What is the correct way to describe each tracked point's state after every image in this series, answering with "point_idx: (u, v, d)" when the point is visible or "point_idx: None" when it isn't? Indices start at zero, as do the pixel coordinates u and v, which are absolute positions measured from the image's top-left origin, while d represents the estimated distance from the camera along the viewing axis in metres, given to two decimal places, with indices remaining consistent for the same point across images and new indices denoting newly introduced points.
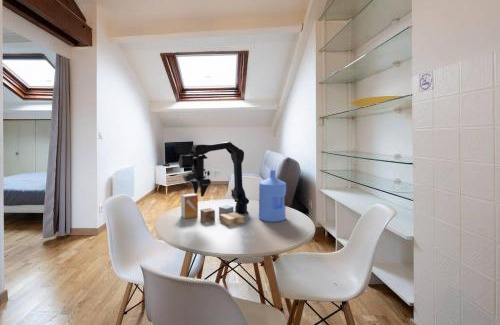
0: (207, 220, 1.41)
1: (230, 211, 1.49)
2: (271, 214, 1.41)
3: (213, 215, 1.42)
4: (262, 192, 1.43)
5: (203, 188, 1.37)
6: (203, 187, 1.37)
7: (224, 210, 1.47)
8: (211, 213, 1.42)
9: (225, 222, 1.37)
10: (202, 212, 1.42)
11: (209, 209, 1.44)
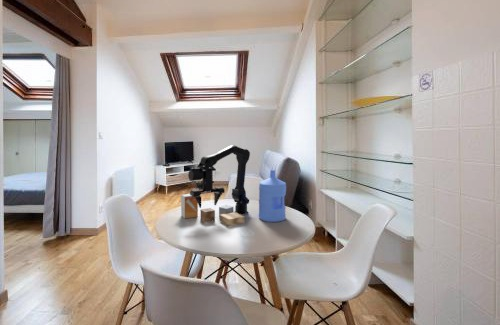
0: (207, 220, 1.41)
1: (230, 211, 1.49)
2: (271, 214, 1.41)
3: (213, 215, 1.42)
4: (262, 192, 1.43)
5: (198, 199, 1.39)
6: (198, 198, 1.39)
7: (224, 210, 1.47)
8: (211, 213, 1.42)
9: (225, 222, 1.37)
10: (202, 212, 1.42)
11: (209, 209, 1.44)
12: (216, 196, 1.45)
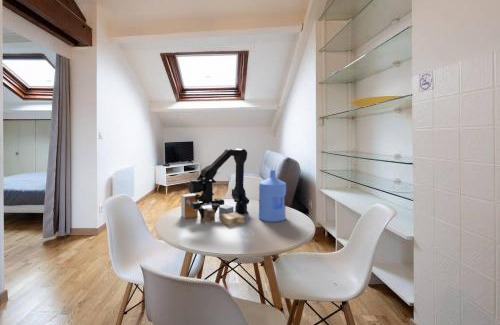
0: (207, 220, 1.41)
1: (230, 211, 1.49)
2: (271, 214, 1.41)
3: (213, 215, 1.42)
4: (262, 192, 1.43)
5: (200, 211, 1.41)
6: (200, 210, 1.41)
7: (224, 210, 1.47)
8: (211, 213, 1.42)
9: (225, 222, 1.37)
10: None
11: (209, 209, 1.44)
12: (214, 208, 1.45)
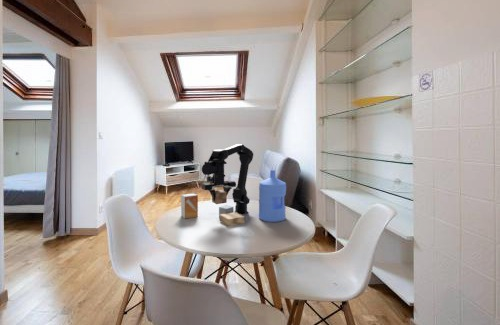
0: (219, 202, 1.39)
1: (230, 211, 1.49)
2: (271, 214, 1.41)
3: (225, 197, 1.40)
4: (262, 192, 1.43)
5: (212, 193, 1.39)
6: (212, 192, 1.39)
7: (224, 210, 1.47)
8: (223, 195, 1.39)
9: (225, 222, 1.37)
10: None
11: (221, 191, 1.42)
12: (225, 190, 1.42)
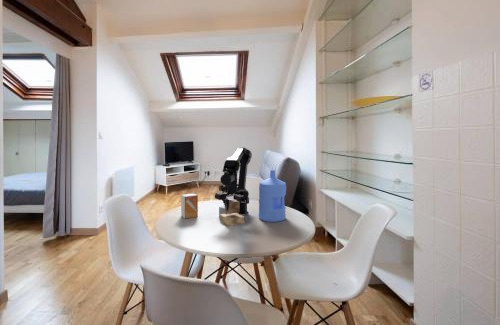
0: (232, 211, 1.38)
1: None
2: (271, 214, 1.41)
3: (238, 206, 1.39)
4: (262, 192, 1.43)
5: (225, 202, 1.38)
6: (225, 201, 1.38)
7: (224, 210, 1.47)
8: (236, 204, 1.39)
9: (224, 222, 1.38)
10: None
11: (233, 200, 1.41)
12: (238, 199, 1.42)
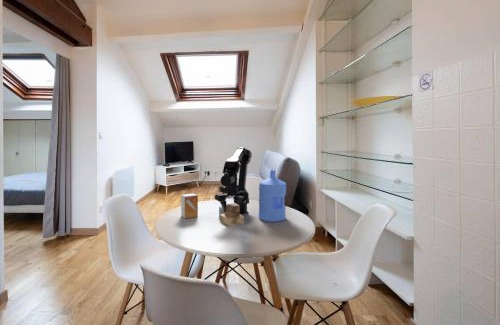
0: (232, 215, 1.38)
1: None
2: (271, 214, 1.41)
3: (238, 210, 1.40)
4: (262, 192, 1.43)
5: (222, 204, 1.37)
6: (222, 203, 1.37)
7: None
8: (236, 208, 1.39)
9: (224, 222, 1.38)
10: (227, 207, 1.39)
11: (233, 204, 1.42)
12: (240, 200, 1.42)
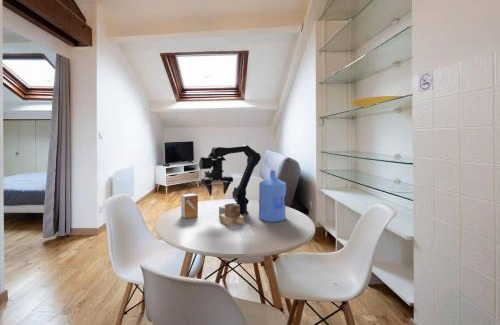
0: (233, 215, 1.38)
1: None
2: (271, 214, 1.41)
3: (238, 210, 1.40)
4: (262, 192, 1.43)
5: (208, 188, 1.46)
6: (208, 187, 1.46)
7: (224, 210, 1.47)
8: (236, 208, 1.39)
9: (224, 222, 1.37)
10: (227, 207, 1.39)
11: (233, 204, 1.42)
12: (225, 185, 1.52)
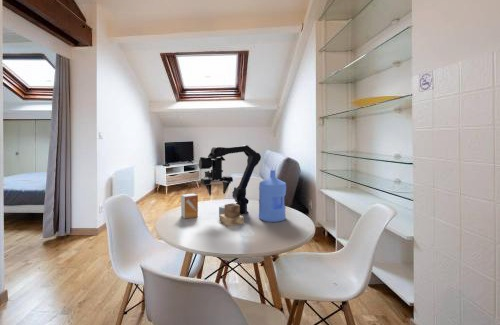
0: (232, 215, 1.38)
1: None
2: (271, 214, 1.41)
3: (238, 210, 1.40)
4: (262, 192, 1.43)
5: (208, 187, 1.47)
6: (208, 187, 1.47)
7: (224, 210, 1.47)
8: (236, 208, 1.39)
9: (224, 222, 1.37)
10: (227, 207, 1.39)
11: (233, 204, 1.42)
12: (225, 185, 1.52)
